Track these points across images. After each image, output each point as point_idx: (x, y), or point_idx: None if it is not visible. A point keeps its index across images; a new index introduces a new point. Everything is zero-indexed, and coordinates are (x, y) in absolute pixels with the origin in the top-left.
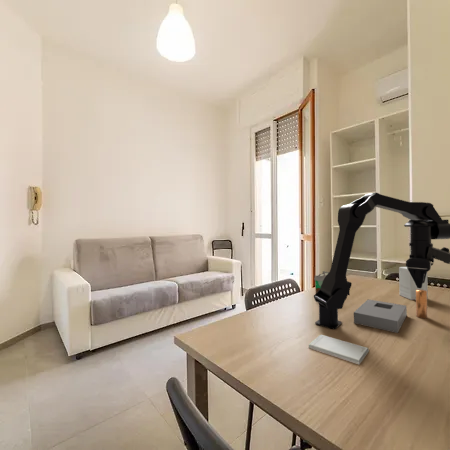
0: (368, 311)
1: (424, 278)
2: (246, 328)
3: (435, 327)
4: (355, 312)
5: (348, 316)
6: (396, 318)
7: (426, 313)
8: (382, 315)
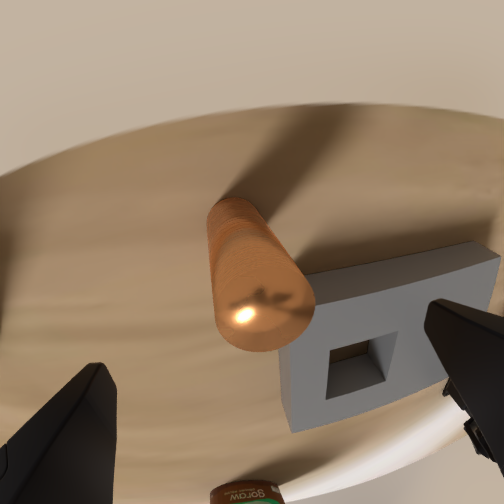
0: None
1: (82, 406)
2: None
3: (362, 141)
4: None
5: None
6: (485, 268)
7: (246, 204)
8: None
